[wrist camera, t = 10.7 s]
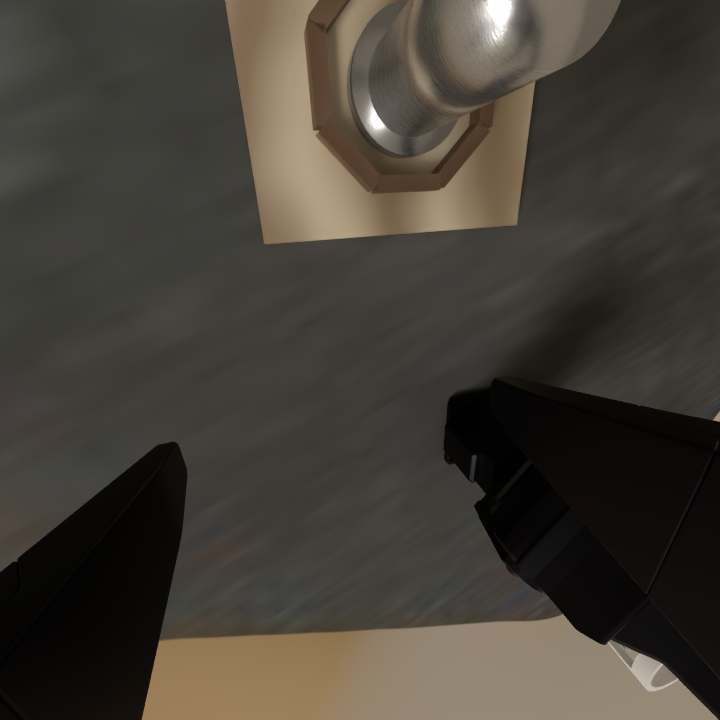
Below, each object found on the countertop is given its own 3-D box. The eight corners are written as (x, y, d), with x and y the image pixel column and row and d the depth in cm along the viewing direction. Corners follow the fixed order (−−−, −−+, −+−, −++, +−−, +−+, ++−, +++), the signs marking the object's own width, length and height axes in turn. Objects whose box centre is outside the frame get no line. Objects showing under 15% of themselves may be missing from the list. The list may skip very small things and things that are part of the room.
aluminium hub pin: (459, 16, 16) (693, -213, 8) (452, 157, 19) (623, 106, 10) (341, 7, 15) (463, -286, 6) (350, 160, 18) (446, 104, 9)
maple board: (541, -74, 17) (574, -108, 15) (506, 224, 23) (527, 225, 21) (204, -131, 13) (195, -185, 11) (264, 243, 19) (264, 245, 17)
